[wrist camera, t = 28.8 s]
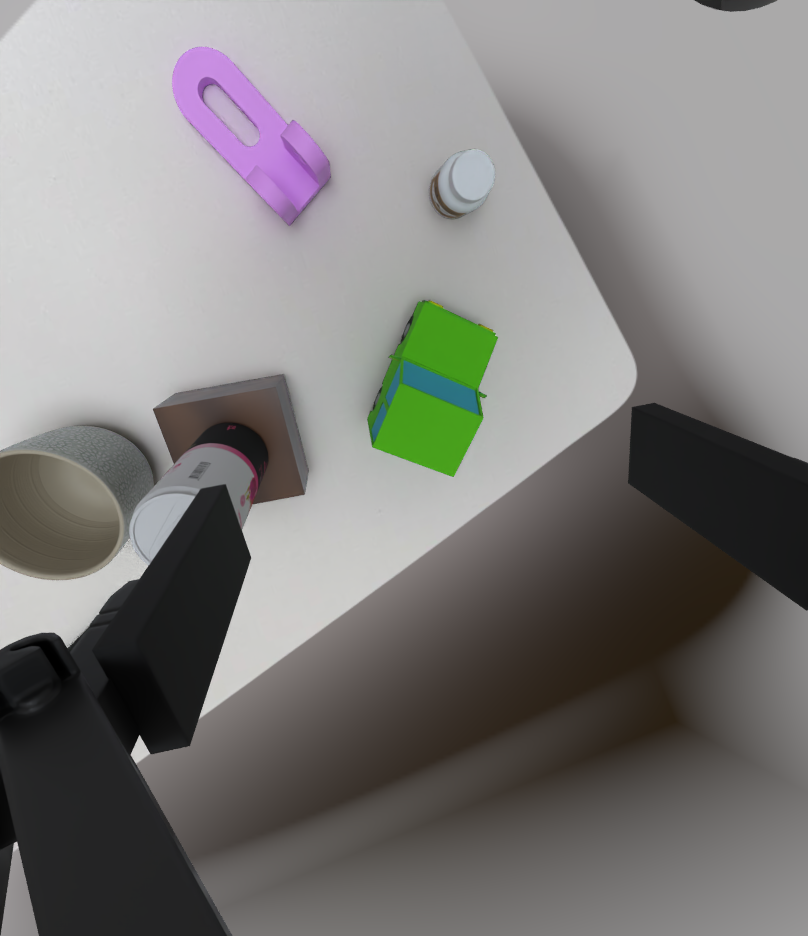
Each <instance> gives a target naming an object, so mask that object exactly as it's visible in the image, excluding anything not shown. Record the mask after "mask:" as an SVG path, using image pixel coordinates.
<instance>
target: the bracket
mask: <svg viewBox="0 0 808 936" xmlns="http://www.w3.org/2000/svg"><path fill="white" fill-rule="evenodd" d="M209 84H215V85H218V86H219V87H220V88H221V89H222V90H223V91H224V92H225V93H226V94H227V95H228V96H229V97H230V99H231V100H232V101H233V102H234V103H235V104H236V105H237V106H238V107H239V108H240V110H241V111H242V112H243V113H244V114H245V115H246V116H247V117H248V118H249V119H250V121H251V122H252V123H253V124H254V125H255V126H256V127H257V128H258V129H259V132H260V138H259V141H258V143H257V144H256V145H254V146H252V147H248V146H245V145H243V144H242V143H241V142H240V141H239V140H238V139H237V138H236V137H235V136H234V135H233V133H232V132H231V131H230V130H229V129H228V128H227V127H226V126H225V125H224V124H223V123H222V122H221V121H220V120H219V118H218V117H217V116H216V115H215V114H214V113H213V112H212V111H211V110H210V109H209V108H208V107H207V106H206V105H205V104H204V101H203V97H202V94H203V90H204V88H205V87H206V86H207V85H209ZM172 86H173V93H174V97H175V100H176V103H177V105H178V107H179V109H180V111H181V112H182V114H183V115H184V116H185V118H186V119H187V120H188V121H189V122H190V123H191V124H192V125H193V126H194V127H195V128H196V129H197V130H198V131H199V132H200V133H201V135H202V136H203V137H204V138H205V139H206V140H207V141H208V142H209V143H210V144H211V145H212V146H213V147H214V148H215V149H216V150H217V151H218V152H219V153H220V154H221V155H222V156H223V157H224V158H225V159H226V160H227V162H228V163H229V164H230V165H231V166H232V167H233V168H234V169H235V170H236V171H237V172H238V173H239V174H240V175H241V176H242V177H243V178H244V179H245V180H246V181H247V182H248V183H249V185H250V186H251V187H252V188H253V189H254V190H255V191H256V192H257V193H258V194H259V195H260V196H261V197H262V198H263V199H264V200H265V201H266V202H267V203H268V204H269V205H270V206H271V207H272V208H273V209H274V210H275V212H276V213H277V214H278V215H279V216H280V217H281V218H282V219H283V220H284V221H285V222H286V223H287V224H288V225H289V226H290V225H291V223H292V222H293V221H294V220H295V219H296V217H297V216H298V215H299V214H300V213H301V212H302V210H303V209H304V208H305V207H306V206H307V204H308V203H309V202H310V201H311V200H312V199H313V197H314V196H315V195H316V194H317V193H318V192H319V190H320V189H321V188H322V187H323V186H324V184H325V183H326V182H327V181H328V180H329V179H330V177H331V174H330V164H329V161H328V159H327V158H326V156H325V155H324V153H323V152H322V151H321V149H320V148H319V147H318V145H317V144H316V143H315V142H314V140H313V139H312V138H311V137H310V136H309V134H308V133H307V132H306V131H305V130H304V129H303V128H302V127H301V126H300V125H299V124H298V123H297V122H296V121H294V120H292V121H291V123H290V124H289V125H287V124H286V122H285V121H284V120H283V119H282V118H281V117H280V116H279V115H278V113H277V112H276V111H275V110H274V109H273V108H272V107H271V105H270V104H269V103H268V102H267V101H266V100H265V99H264V97H263V96H262V95H261V94H260V93H259V92H258V91H257V90H256V88H255V87H254V86H253V85H252V84H251V83H250V82H249V80H248V79H247V78H246V77H245V76H244V75H243V74H242V72H241V71H240V70H239V69H238V68H237V67H236V66H235V64H234V63H233V62H232V61H231V60H230V59H229V58H228V57H227V56H225V55H224V54H223V53H221V52H219V51H218V50H215V49H213V48H209V47H196V48H192V49H190V50H188V51H187V52H185V53H184V54H183V55H182V56H181V57H180V58H179V60H178V61H177V63H176V65H175V68H174V72H173V78H172Z"/></svg>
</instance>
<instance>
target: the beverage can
mask: <svg viewBox="0 0 808 936" xmlns="http://www.w3.org/2000/svg"><path fill="white" fill-rule="evenodd" d="M267 466H268V451H267V448H266V445H265V443H264V442H263V440H262V439H261V437H260V436H259V435H258V434H257V433H256V432H254V431H253V430H252V429H250V428H248V427H246V426H244V425H241V424H237V423H220V424H216V425H214V426H211V427H210V428H208V429H207V430H205V431H204V432H203V433H202V434H201V435H200V436H199V438H198V439H197V440H196V441H195V442H194V443H193V444H192V445H191V446H190V447H189V449H188V450H187V451H186V452H185V453H184V454H183V455H182V456H181V457H180V458H179V460H178V461H177V462H176V463H175V464H174V465H173V466H172V467H171V468H170V469H169V471H168V472H167V473H166V474H165V475H164V476H163V477H162V478H161V479H160V480H159V481H158V483H157V484H156V485H155V486H154V487H153V488H152V489H151V490H150V491H149V492H148V494H147V495H146V496H145V497H144V498H143V499H142V500H141V501H140V502H139V504H138V505H137V507H136V508H135V510H134V513H133V516H132V519H131V522H130V528H129V535H130V540H131V543H132V546H133V548H134V550H135V552H136V553H137V555H138V556H139V557H140V558H141V559H142V560H143V561H144V562H145V563H146V564H147V565H150V563H151V562H152V560H153V559H154V557H155V556H156V554H157V553H158V551H159V550H160V548H161V547H162V545H163V544H164V542H165V541H166V539H167V538H168V536H169V535H170V533H171V532H172V530H173V529H174V528H175V526H176V525H177V523H178V522H179V520H180V519H181V517H182V516H183V514H184V513H185V511H186V510H187V508H188V507H189V505H190V504H191V502H192V501H193V499H194V498H195V496H196V495H197V493H198V492H199V490H200V489H201V488H207V487H212V486H217V485H222V484H226V486H227V489H228V492H229V495H230V498H231V501H232V504H233V506H234V509H235V512H236V515H237V518H238V521H239V524H240V527H241V530H242V528H243V526H244V523H245V521H246V518H247V516H248V514H249V511H250V509H251V506H252V504H253V501H254V499H255V496H256V494H257V491H258V489H259V486H260V484H261V481H262V479H263V476H264V474H265V471H266V469H267Z"/></svg>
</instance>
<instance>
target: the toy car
mask: <svg viewBox="0 0 808 936" xmlns="http://www.w3.org/2000/svg"><path fill="white" fill-rule="evenodd" d="M495 334H496V333H494V332H493V330H491V329H489V328H487V327H485V326H483V325H481V324H478V325H477V324H475V323H473V322H470V321H468V320H466V319H464V318H462V317H460V316H458V315H456V314H454V313H451V312H449V311H447V310H445V309H443V306H441V305H439V304H437V303H435V302H433V301H430V300H429V301H425V300H424V301H422V302H420V301H419V302H418V304H417V306H416V309H415V311H414V313H413V316H412V317H411V318H410V320H409V321H408V323H407V326H406V328H405V330H404V333H403V336H402V339H401V344H399V345H398V347H397V349H396V352H395V354H394V355H390V356H389V358H391V359H392V361H391V364H390V366H389V368H388V371H387V373H386V376H385V378H384V380H383V383H382V384H383V386H382V387H381V389H380V390H379V392H378V395H377V397H376V400H375V402H374V406H373V411H370V414H369V416H368V419H367V420H368V425H369V431H370V437H371V442H372V447H373V448H376V449H379V450H381V451H384V452H387V453H389V454H392V455H395V456H398V457H400V458H403V459H406V460H408V461H411V462H414V463H417V464H419V465H422V466H425V467H427V468H430V469H433V470H436V471H438V472H441V473H444V474H446V475H449V476H452V477H454V475H455V473H456V471H457V469H458V467H459V465H460V463H461V461H462V459H463V457H464V455H465V453H466V452H467V450H468V448H469V446H470V444H471V442H472V440H473V438H474V436H475V434H476V432H477V430H478V428H479V426H480V424H481V422H482V420H483V413H482V407H481V402H480V397H482V398H485V397H487V395H485V394H483V393H481V392H479V391H478V387H479V385H480V382H481V380H482V377H483V375H484V372H485V370H486V367H487V364H488V362H489V359H490V357H491V354H492V352H493V349H494V346H495V344H496V341H497V339H498V337H497V336H495ZM479 396H480V397H479Z"/></svg>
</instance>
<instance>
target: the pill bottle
mask: <svg viewBox="0 0 808 936" xmlns="http://www.w3.org/2000/svg"><path fill="white" fill-rule="evenodd" d="M494 180H495V168H494V164H493V162H492V160H491V158H490V157H489V156H488V155H487V154H486V153H485V152H483V151H481V150H478V149H470V150H467V151H460V152H458V153H455V154H454V155H452V156H451V157H450V158H449V159H448V160H447V161H446V162H445V163H444V164H443V165H442V166H441V167H440V169H439V170H438V171H437V172H436V173H435V175H434V176H433V178H432V180H431V183H430V188H429V196H430V201H431V204H432V206H433V208H434V209H435V210H436V212H437V213H438V214H440V215H441V216H443V217H445V218H449V219H455V218H459V217H462V216H464V215H466V214H468V213H470V212H472V211H474V210H475V209H477V208H478V207H479V206H481V205H482V204H483V202H484V201H485V199H486V198H487V196H488V194H489V191H490V190H491V188H492V186H493V184H494Z"/></svg>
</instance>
